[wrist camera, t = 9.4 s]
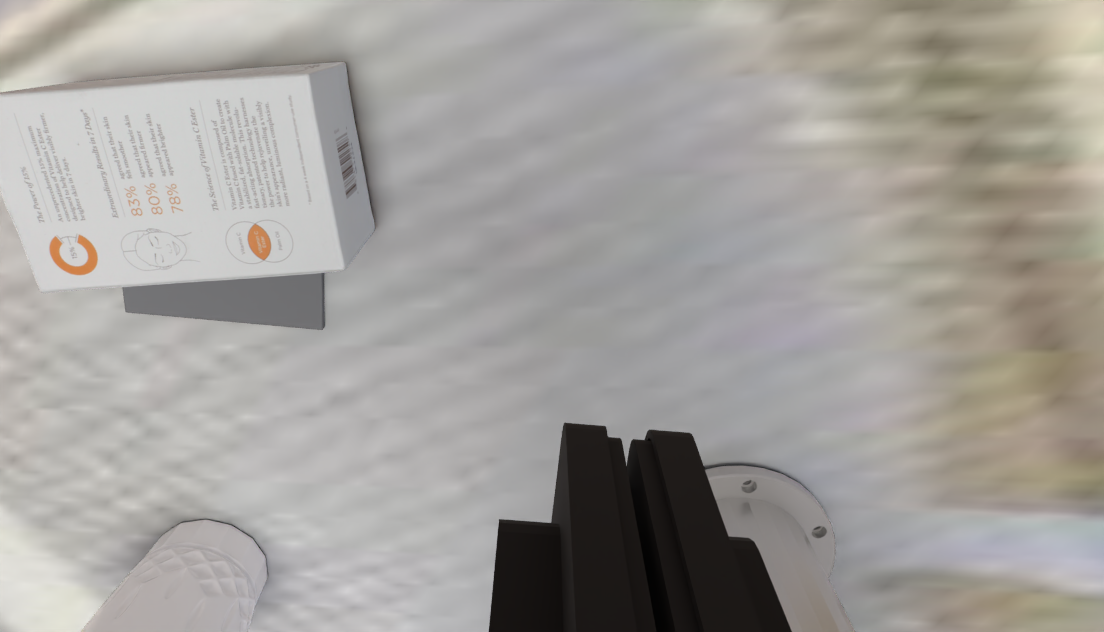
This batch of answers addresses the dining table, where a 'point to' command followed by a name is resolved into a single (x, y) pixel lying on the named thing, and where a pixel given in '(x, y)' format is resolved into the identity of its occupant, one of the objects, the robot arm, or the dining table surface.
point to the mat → (236, 300)
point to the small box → (185, 177)
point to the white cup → (188, 584)
